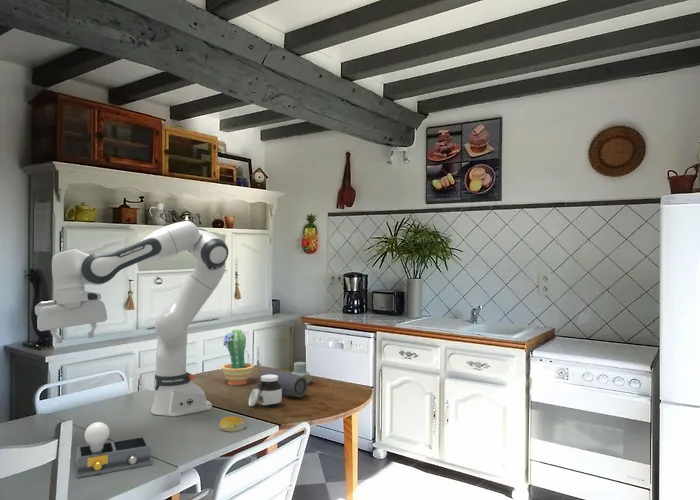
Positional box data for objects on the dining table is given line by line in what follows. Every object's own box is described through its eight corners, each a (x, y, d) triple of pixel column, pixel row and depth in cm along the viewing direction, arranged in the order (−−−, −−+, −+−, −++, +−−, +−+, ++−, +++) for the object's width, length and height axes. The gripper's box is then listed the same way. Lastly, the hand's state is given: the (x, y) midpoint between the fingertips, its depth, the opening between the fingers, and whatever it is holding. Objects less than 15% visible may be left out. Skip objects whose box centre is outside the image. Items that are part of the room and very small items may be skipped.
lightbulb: (98, 466, 141) (99, 427, 141) (78, 464, 142) (79, 425, 142) (113, 458, 147) (114, 419, 147) (94, 456, 148) (95, 418, 148)
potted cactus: (223, 379, 247) (223, 327, 248) (255, 378, 249) (255, 327, 250) (218, 387, 232) (219, 332, 232) (252, 386, 234) (253, 332, 234)
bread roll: (230, 423, 183) (230, 411, 183) (249, 427, 178) (249, 416, 178) (213, 429, 176) (213, 417, 176) (232, 434, 171) (232, 422, 171)
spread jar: (284, 405, 204) (284, 376, 204) (261, 411, 196) (262, 381, 196) (266, 400, 212) (266, 372, 212) (243, 405, 204) (243, 376, 204)
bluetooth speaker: (308, 397, 217) (309, 373, 217) (292, 401, 210) (293, 377, 210) (273, 388, 232) (273, 366, 232) (257, 392, 225) (257, 369, 225)
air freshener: (303, 380, 246) (303, 360, 246) (314, 384, 240) (314, 362, 240) (285, 384, 239) (285, 363, 239) (295, 387, 232) (295, 366, 233)
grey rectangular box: (145, 450, 156) (145, 435, 156) (151, 464, 145) (152, 449, 145) (75, 462, 146) (76, 446, 146) (77, 478, 136) (77, 461, 136)
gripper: (35, 302, 158) (40, 346, 157) (105, 293, 171) (110, 334, 170) (32, 303, 163) (37, 346, 162) (101, 295, 176) (105, 334, 175)
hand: (75, 340), depth 166 cm, fingers open, 8 cm apart
